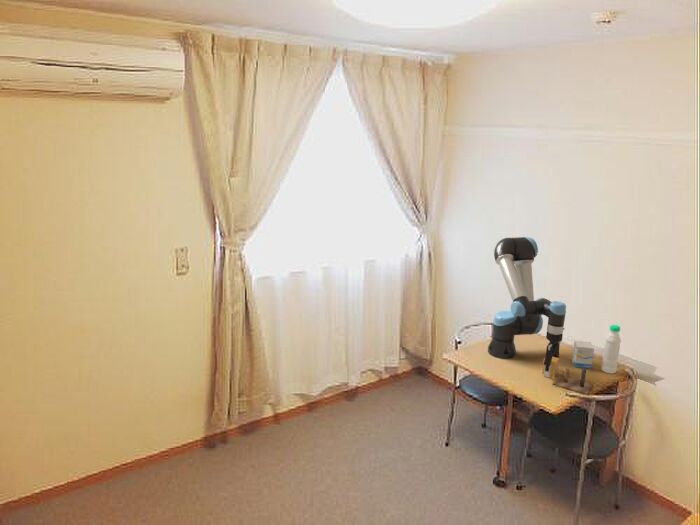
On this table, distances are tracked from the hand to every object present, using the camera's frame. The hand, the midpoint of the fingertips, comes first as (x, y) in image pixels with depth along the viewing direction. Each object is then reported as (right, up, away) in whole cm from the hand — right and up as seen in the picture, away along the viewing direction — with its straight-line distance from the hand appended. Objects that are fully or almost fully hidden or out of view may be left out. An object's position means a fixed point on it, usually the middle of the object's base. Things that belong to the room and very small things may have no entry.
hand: (549, 372), depth 267 cm
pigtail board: (+7, -4, -12) cm, 14 cm away
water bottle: (+32, 0, +3) cm, 32 cm away
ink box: (+21, +2, +10) cm, 23 cm away
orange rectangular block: (0, 0, 0) cm, 0 cm away
